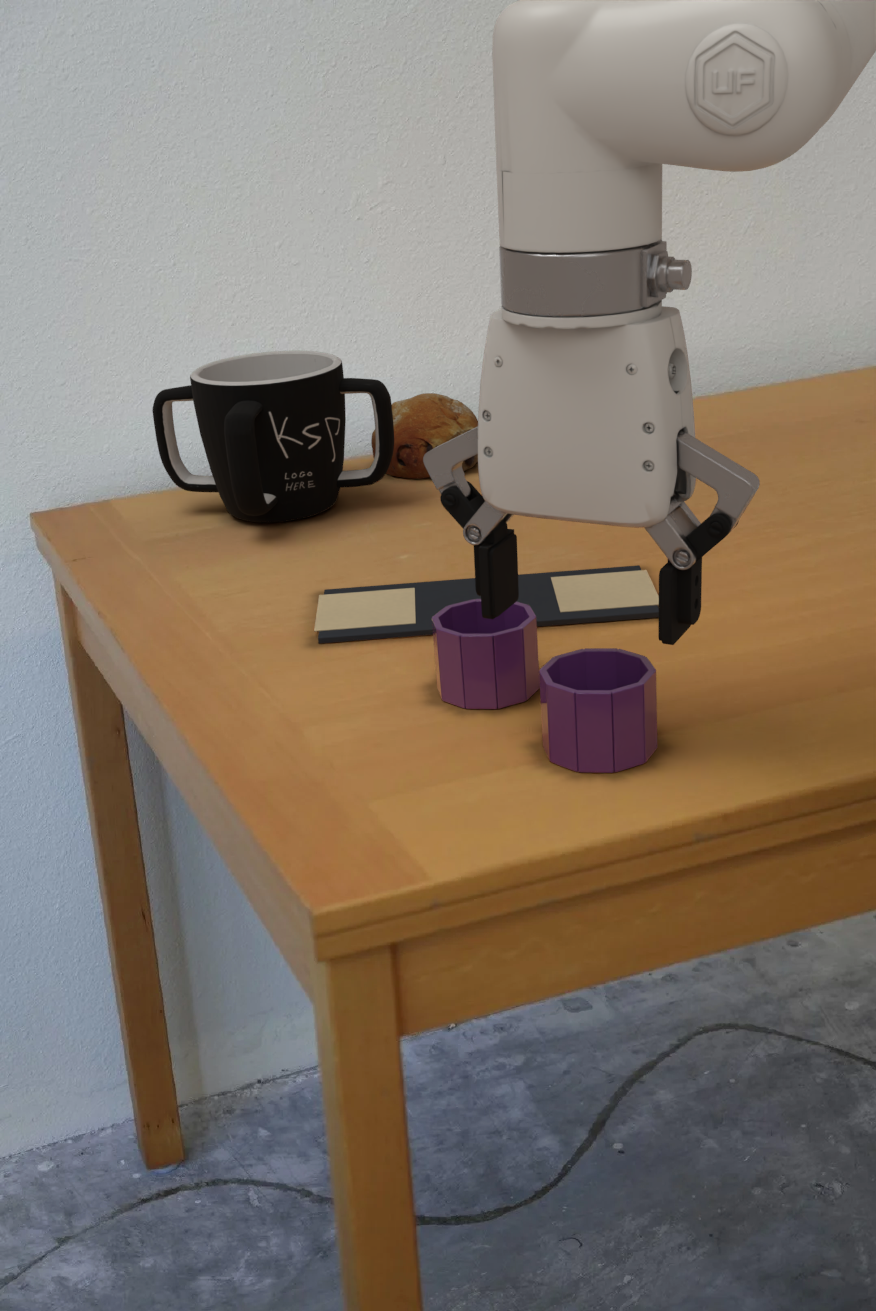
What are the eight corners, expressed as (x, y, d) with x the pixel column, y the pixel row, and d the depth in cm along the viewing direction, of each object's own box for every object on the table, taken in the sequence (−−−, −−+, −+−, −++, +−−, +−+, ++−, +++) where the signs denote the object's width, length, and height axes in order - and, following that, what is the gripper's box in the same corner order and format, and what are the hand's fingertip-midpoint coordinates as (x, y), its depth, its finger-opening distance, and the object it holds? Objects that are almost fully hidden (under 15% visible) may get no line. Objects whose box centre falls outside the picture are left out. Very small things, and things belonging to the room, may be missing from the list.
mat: (643, 570, 103) (643, 564, 103) (665, 617, 95) (665, 610, 94) (320, 594, 103) (319, 588, 103) (313, 644, 95) (313, 637, 95)
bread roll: (478, 486, 137) (465, 401, 137) (500, 464, 127) (486, 373, 127) (373, 499, 135) (360, 414, 136) (387, 479, 125) (373, 387, 126)
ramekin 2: (671, 731, 79) (670, 654, 78) (631, 781, 75) (629, 700, 73) (571, 716, 82) (568, 641, 80) (526, 763, 77) (522, 685, 75)
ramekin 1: (554, 674, 88) (551, 603, 86) (511, 716, 83) (507, 641, 81) (467, 662, 90) (462, 593, 88) (420, 702, 85) (414, 630, 84)
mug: (229, 555, 112) (208, 400, 108) (156, 508, 125) (135, 368, 121) (415, 509, 120) (403, 362, 115) (328, 470, 133) (314, 336, 128)
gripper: (786, 274, 68) (772, 618, 75) (452, 265, 76) (467, 578, 83) (737, 303, 62) (727, 675, 69) (380, 291, 70) (403, 626, 77)
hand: (585, 622), depth 76 cm, fingers open, 9 cm apart
